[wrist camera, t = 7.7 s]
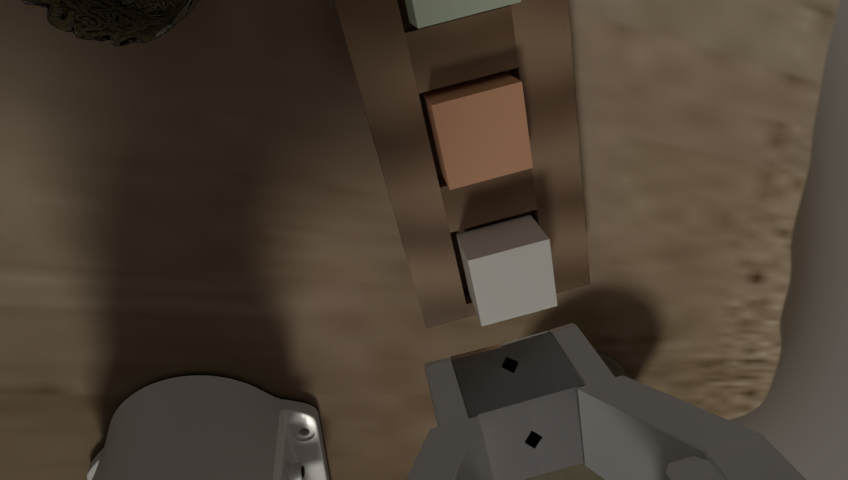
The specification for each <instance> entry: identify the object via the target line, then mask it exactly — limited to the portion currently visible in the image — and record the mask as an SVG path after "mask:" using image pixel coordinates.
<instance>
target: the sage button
mask: <svg viewBox="0 0 848 480" xmlns="http://www.w3.org/2000/svg"><path fill="white" fill-rule="evenodd" d="M519 2H521V0H405V4H406V9H407V13H408V18H409V22H410V24H412V25H413V26H415V27H416V28H418V29H419V28H423V27H427V26H430V25H434V24H438V23H442V22H446V21H450V20H454V19H457V18H461V17H465V16H469V15H473V14H477V13H480V12H484V11H488V10H492V9H496V8H500V7H503V6H507V5H511V4H515V3H519Z"/></svg>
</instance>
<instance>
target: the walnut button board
mask: <svg viewBox="0 0 848 480" xmlns="http://www.w3.org/2000/svg"><path fill="white" fill-rule="evenodd" d="M334 2H335V5H336V9H337V13H338V16H339V20H340V23H341V27H342V30H343V34H344V37H345V41H346V44H347V48H348V51H349V55H350V59H351V62H352V66H353V69H354V73H355V76H356V80H357V83H358V87H359V90H360V94H361V97H362V101H363V105H364V108H365V112H366V115H367V119H368V122H369V126H370V129H371V133H372V136H373V140H374V144H375V147H376V151H377V154H378V158H379V161H380V165H381V168H382V172H383V175H384V179H385V182H386V186H387V190H388V193H389V197H390V200H391V204H392V207H393V211H394V214H395V218H396V221H397V225H398V228H399V232H400V236H401V239H402V243H403V246H404V250H405V253H406V257H407V260H408V264H409V267H410V271H411V275H412V278H413V282H414V285H415V289H416V292H417V296H418V299H419V303H420V306H421V310H422V313H423V317H424V321H425V324H426V328H429V327H433V326H437V325H440V324H444V323H448V322H451V321H455V320H459V319H463V318H466V317H470V316H474V315H477V313H476V310H475V308H474V305H473V303H472V300H471V297H470V294H469V290H468V285H467V281H466V276H465V272H464V267H463V262H462V258H461V253H460V249H459V244H458V240H457V235H456V234H460V233H464V232H467V231H471V230H475V229H478V228H482V227H486V226H490V225H493V224H497V223H501V222H505V221H508V220H512V219H516V218H520V217H523V216H527V215H531V216H532V217H533V219H534V220H535V221H536V222H537V224H538V225H539V226H540V227H541V229H542V230H543V231H544V233H545V234H546V235H547V236H548V238H549V239H550V247H551V256H552V264H553V273H554V281H555V289H556V293H559V292H562V291H566V290H570V289H573V288H577V287H581V286H584V285H588V284H590V275H589V262H588V249H587V237H586V224H585V211H584V198H583V185H582V172H581V159H580V146H579V133H578V120H577V107H576V94H575V81H574V68H573V55H572V42H571V29H570V16H569V4H568V0H521V2H519V3H515V4H511V5H507V6H503V7H500V8H496V9H492V10H488V11H484V12H480V13H477V14H473V15H469V16H465V17H461V18H457V19H454V20H450V21H446V22H442V23H438V24H434V25H430V26H427V27H423V28H419V29H418V28H416V27H415V26H413V25H412V24H410V22H409V18H408V13H407V9H406V4H405V0H334ZM503 71H505V72H506V73H508V74H510V75H512V76H513V77H515V78H517V79H518V80H520V81H522V85H523V93H524V101H525V109H526V117H527V125H528V133H529V141H530V149H531V156H532V164H533V168H531V169H527V170H523V171H520V172H516V173H512V174H508V175H505V176H501V177H497V178H493V179H489V180H486V181H482V182H478V183H474V184H471V185H467V186H463V187H459V188H456V189H452V190H449V188H448V186H447V184H446V182H445V179H444V177H443V175H442V173H441V171H440V169H439V164H438V160H437V155H436V151H435V146H434V142H433V137H432V133H431V128H430V124H429V119H428V115H427V110H426V106H425V102H424V97H423V92H427V91H431V90H434V89H438V88H442V87H446V86H450V85H453V84H457V83H461V82H465V81H469V80H472V79H476V78H480V77H484V76H488V75H491V74H495V73H499V72H503Z"/></svg>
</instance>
